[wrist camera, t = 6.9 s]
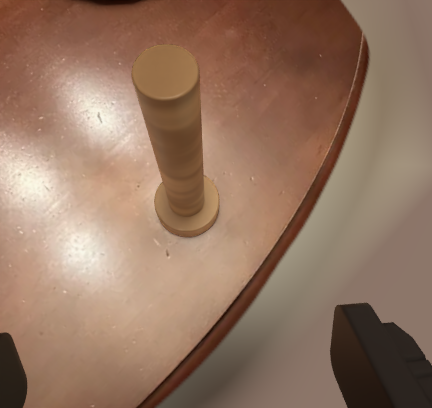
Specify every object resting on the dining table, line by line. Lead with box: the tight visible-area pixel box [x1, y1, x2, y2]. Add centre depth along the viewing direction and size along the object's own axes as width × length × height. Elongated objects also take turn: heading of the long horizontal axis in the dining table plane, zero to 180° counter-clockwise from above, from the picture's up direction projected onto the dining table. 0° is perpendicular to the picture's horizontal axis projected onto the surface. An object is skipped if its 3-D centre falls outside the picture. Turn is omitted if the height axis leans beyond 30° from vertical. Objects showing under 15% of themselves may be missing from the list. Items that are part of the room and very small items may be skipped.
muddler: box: [132, 44, 219, 237], centre depth 21 cm, size 4×4×15 cm
